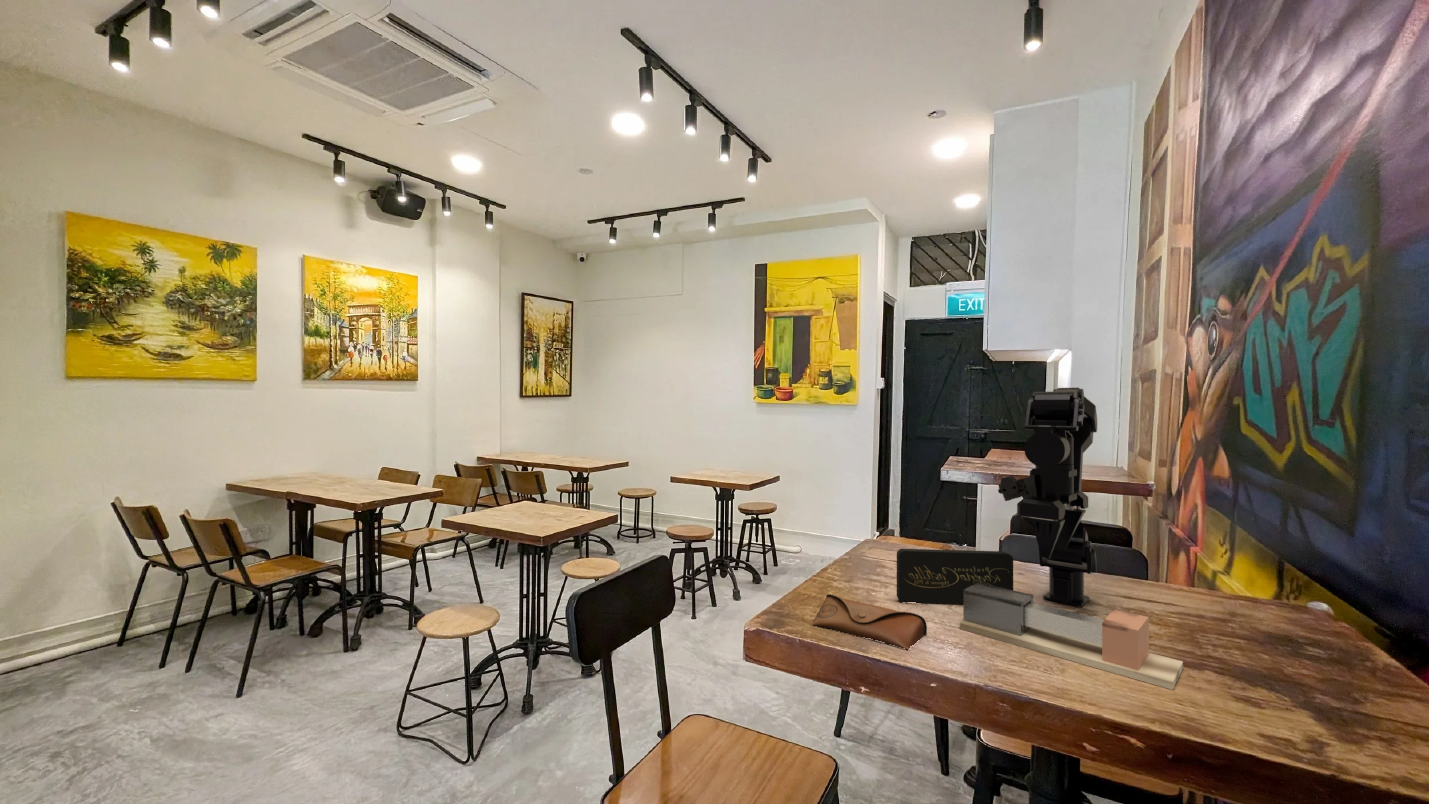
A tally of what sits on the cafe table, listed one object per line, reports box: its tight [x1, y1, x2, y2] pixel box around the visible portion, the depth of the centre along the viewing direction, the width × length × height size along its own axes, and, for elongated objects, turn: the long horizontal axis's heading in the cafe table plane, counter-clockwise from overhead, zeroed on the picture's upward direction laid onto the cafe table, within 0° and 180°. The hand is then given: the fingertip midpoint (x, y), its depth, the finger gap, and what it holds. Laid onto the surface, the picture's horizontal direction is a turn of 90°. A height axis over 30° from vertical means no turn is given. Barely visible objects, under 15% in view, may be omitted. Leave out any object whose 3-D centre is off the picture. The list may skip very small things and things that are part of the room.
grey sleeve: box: [962, 583, 1034, 636], centre depth 94 cm, size 6×9×5 cm, turn 44°
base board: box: [959, 620, 1184, 691], centre depth 88 cm, size 9×28×1 cm, turn 44°
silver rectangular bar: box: [1023, 602, 1105, 646], centre depth 87 cm, size 3×17×3 cm, turn 43°
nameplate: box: [896, 548, 1014, 606], centre depth 107 cm, size 21×2×10 cm, turn 85°
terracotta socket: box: [1102, 609, 1150, 670], centre depth 82 cm, size 7×4×6 cm, turn 134°
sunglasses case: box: [809, 594, 928, 649], centre depth 94 cm, size 18×7×7 cm
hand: (1054, 553), depth 98 cm, fingers open, 9 cm apart
